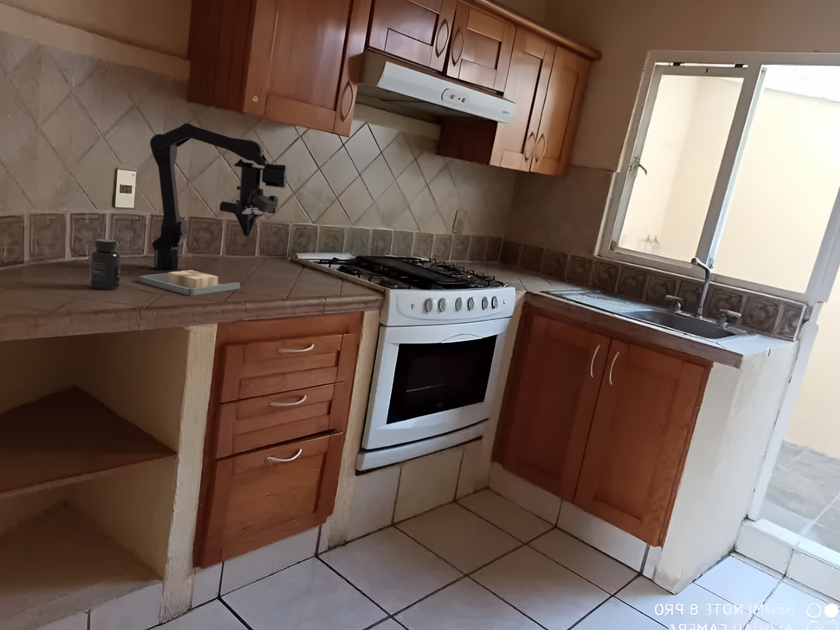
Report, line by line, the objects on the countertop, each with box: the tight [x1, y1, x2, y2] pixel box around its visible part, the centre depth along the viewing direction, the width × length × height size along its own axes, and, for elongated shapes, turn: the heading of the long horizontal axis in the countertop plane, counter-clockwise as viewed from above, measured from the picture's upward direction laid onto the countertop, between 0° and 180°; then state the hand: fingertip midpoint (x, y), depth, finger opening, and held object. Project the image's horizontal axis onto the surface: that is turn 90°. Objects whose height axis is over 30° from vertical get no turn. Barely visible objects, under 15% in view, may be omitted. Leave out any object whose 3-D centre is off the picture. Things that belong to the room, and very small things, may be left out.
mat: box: [137, 272, 241, 297], centre depth 170 cm, size 19×18×2 cm
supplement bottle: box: [89, 238, 121, 291], centre depth 156 cm, size 7×7×12 cm
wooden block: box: [167, 269, 219, 289], centre depth 170 cm, size 10×3×8 cm
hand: (246, 236), depth 188 cm, fingers closed
